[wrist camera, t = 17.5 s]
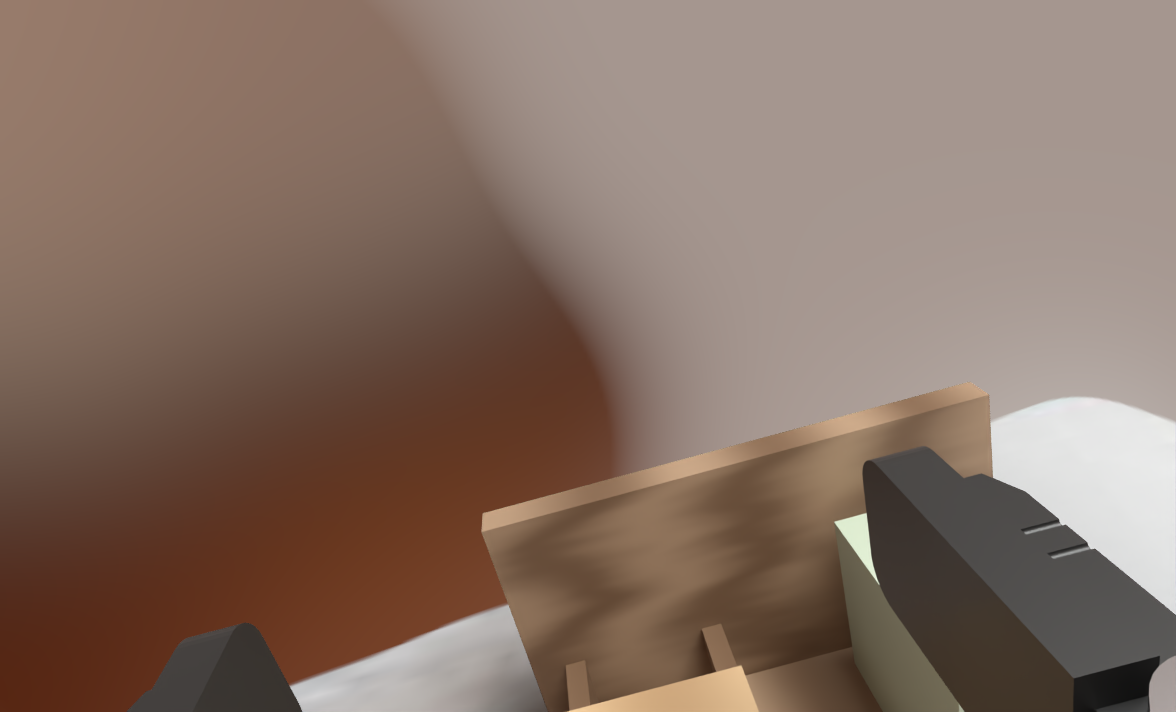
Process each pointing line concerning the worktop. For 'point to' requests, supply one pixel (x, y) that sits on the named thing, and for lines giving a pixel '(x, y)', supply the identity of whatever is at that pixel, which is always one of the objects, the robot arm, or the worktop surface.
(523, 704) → the worktop surface
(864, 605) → the offcut
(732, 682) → the light brown wooden block
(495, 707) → the worktop surface
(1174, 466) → the worktop surface
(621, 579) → the rack
